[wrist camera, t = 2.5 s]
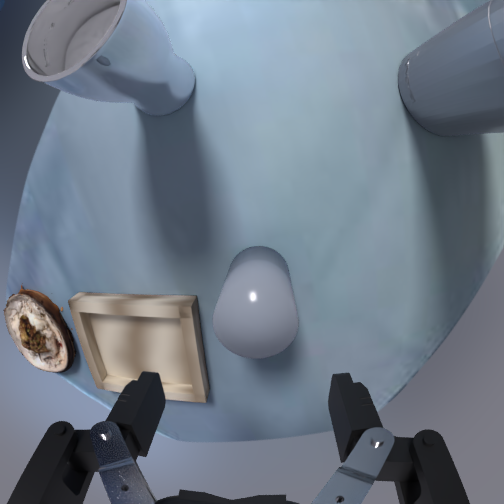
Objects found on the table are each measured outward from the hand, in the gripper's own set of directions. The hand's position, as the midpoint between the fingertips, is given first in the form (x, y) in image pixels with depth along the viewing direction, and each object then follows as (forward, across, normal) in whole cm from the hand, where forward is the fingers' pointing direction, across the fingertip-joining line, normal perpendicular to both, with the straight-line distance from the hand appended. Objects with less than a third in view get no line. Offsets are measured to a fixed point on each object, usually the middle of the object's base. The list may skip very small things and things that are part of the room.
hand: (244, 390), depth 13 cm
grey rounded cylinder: (+15, 0, 0) cm, 15 cm away
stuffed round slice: (+17, +28, +8) cm, 34 cm away
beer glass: (+16, +8, -18) cm, 25 cm away
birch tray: (+16, +12, +8) cm, 22 cm away
